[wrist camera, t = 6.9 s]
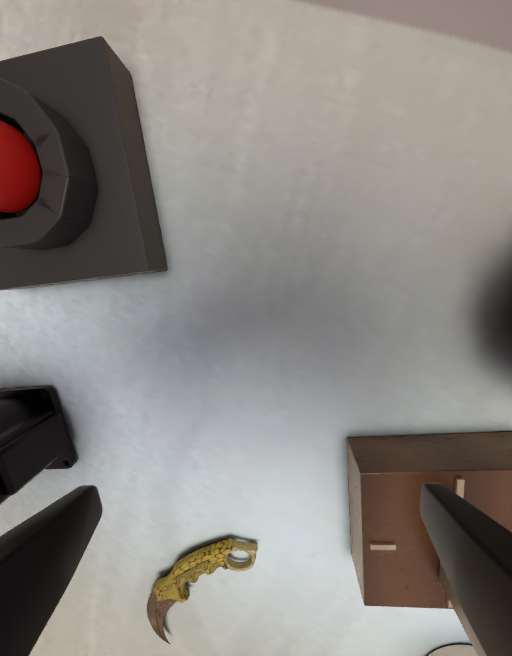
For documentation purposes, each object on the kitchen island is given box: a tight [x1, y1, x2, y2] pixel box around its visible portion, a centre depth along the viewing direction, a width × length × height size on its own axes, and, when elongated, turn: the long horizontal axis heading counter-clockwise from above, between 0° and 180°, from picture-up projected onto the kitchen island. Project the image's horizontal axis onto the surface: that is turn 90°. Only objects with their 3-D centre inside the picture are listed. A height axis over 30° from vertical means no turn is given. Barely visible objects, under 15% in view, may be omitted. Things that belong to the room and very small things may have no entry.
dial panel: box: [347, 431, 512, 609], centre depth 16 cm, size 10×10×3 cm
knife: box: [147, 539, 258, 644], centre depth 20 cm, size 14×1×5 cm
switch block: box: [0, 36, 167, 290], centre depth 13 cm, size 10×10×4 cm
